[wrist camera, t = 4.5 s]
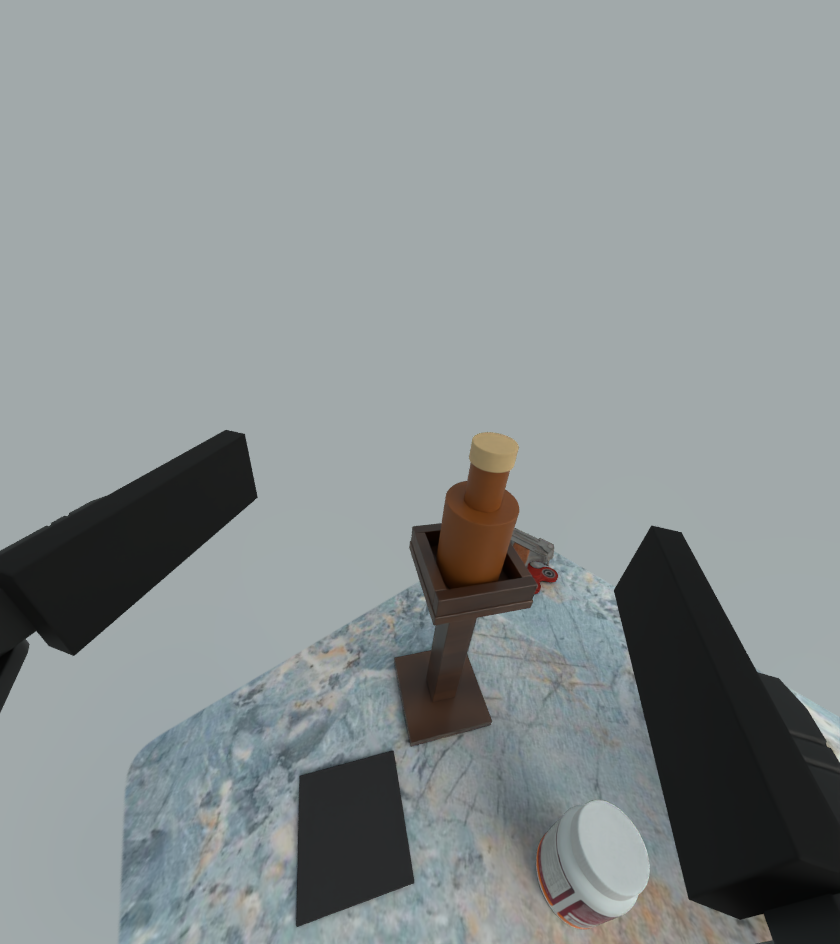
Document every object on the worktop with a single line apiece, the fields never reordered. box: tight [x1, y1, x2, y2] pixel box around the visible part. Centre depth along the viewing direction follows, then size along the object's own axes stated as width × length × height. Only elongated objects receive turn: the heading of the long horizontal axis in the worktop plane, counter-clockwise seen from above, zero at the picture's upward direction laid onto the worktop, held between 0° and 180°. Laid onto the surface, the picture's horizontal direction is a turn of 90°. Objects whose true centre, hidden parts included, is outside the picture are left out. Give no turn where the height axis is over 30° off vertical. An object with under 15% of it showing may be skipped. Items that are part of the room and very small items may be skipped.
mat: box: [296, 751, 414, 927], centre depth 34 cm, size 10×10×1 cm
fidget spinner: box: [526, 563, 558, 594], centre depth 62 cm, size 8×7×1 cm
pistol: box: [510, 528, 554, 566], centre depth 67 cm, size 19×2×12 cm
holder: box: [394, 523, 538, 747], centre depth 39 cm, size 10×10×25 cm
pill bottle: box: [536, 800, 650, 929], centre depth 30 cm, size 6×6×11 cm
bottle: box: [436, 432, 519, 589], centre depth 29 cm, size 6×6×13 cm
